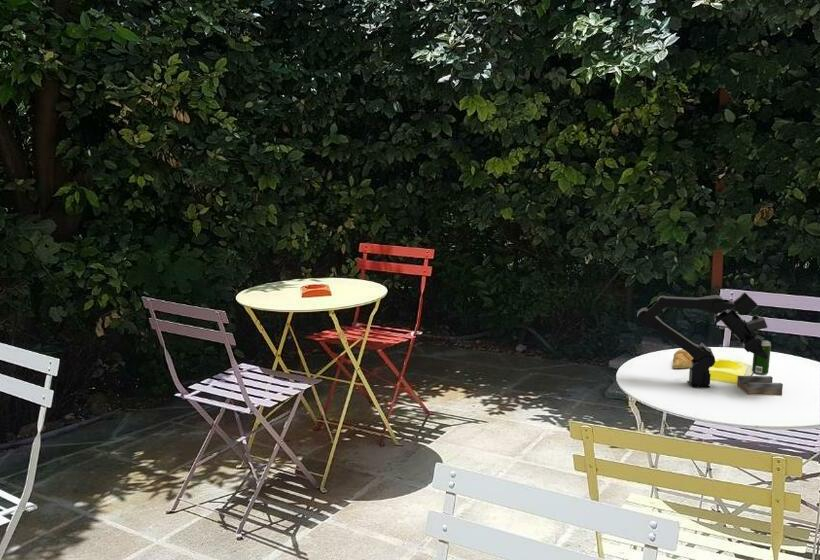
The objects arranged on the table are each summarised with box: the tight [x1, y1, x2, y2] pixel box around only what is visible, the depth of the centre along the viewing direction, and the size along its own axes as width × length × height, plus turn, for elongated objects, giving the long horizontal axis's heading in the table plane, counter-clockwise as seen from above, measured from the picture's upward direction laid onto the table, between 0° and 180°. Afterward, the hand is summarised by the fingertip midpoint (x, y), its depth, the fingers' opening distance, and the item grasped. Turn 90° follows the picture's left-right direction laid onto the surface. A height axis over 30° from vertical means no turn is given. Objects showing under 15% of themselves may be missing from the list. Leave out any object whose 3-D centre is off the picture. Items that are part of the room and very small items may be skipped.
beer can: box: [751, 339, 772, 376], centre depth 263 cm, size 5×5×12 cm
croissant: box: [672, 348, 693, 369], centre depth 298 cm, size 21×10×8 cm, turn 137°
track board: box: [736, 375, 784, 396], centre depth 264 cm, size 12×10×4 cm
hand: (765, 356), depth 262 cm, fingers closed on beer can, 5 cm apart
